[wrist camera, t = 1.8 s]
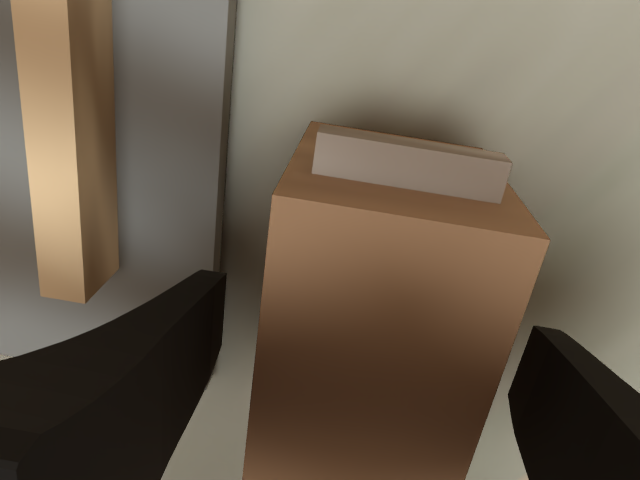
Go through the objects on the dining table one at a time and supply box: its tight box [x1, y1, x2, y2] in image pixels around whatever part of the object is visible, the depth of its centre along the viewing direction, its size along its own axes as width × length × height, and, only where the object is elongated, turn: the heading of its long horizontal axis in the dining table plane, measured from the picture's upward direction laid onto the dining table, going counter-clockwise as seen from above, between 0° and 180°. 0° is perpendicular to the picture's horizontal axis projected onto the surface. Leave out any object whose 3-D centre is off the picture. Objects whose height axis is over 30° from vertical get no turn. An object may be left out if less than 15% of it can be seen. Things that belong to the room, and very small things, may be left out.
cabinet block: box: [242, 121, 550, 480], centre depth 13 cm, size 9×5×6 cm, turn 172°
